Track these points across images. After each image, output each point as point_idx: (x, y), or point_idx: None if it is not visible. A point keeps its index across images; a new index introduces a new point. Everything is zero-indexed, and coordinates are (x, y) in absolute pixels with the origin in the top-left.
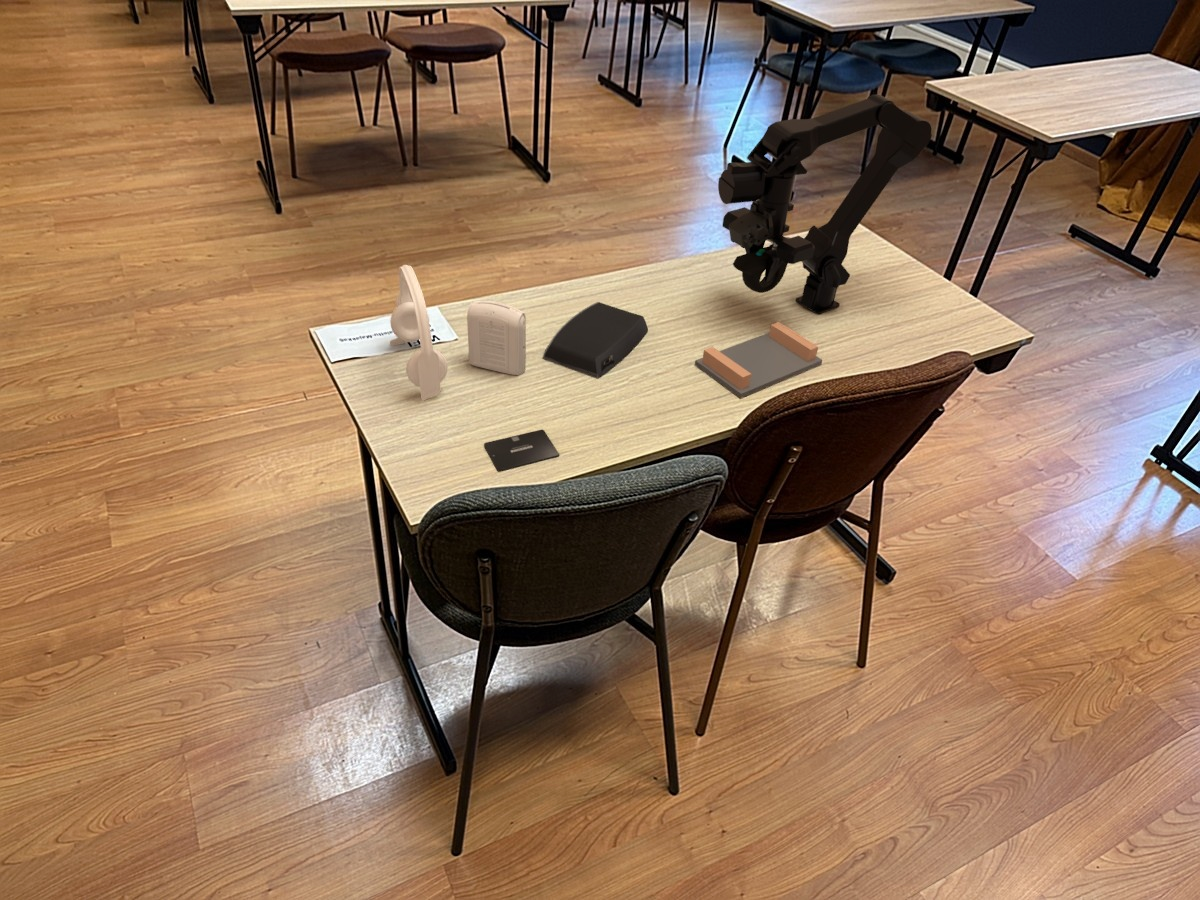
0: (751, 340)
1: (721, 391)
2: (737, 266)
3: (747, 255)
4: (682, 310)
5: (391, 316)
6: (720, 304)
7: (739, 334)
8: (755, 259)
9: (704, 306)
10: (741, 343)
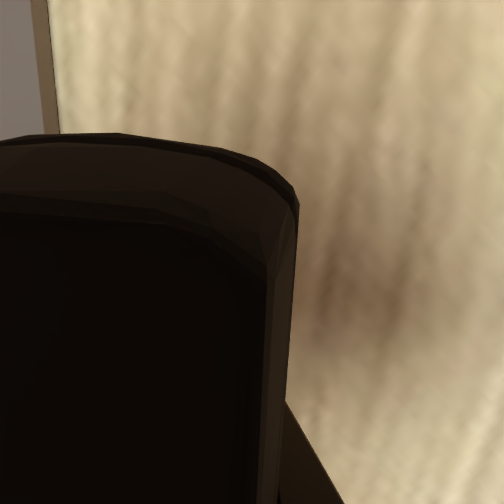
0: (30, 83)
1: None
2: (133, 137)
3: (188, 478)
4: (463, 20)
5: None
6: (375, 232)
7: (137, 112)
8: None
9: (412, 154)
10: (27, 15)
